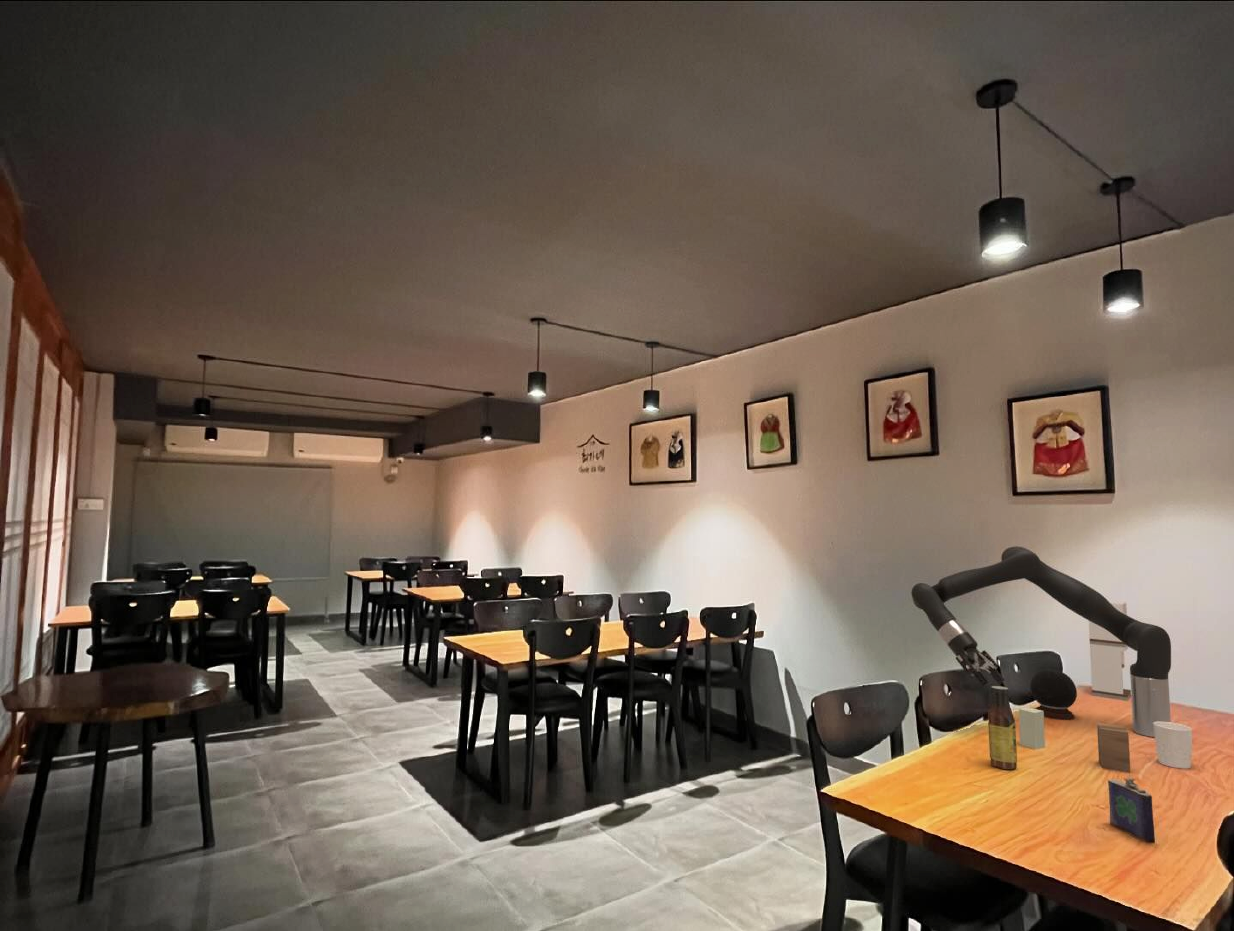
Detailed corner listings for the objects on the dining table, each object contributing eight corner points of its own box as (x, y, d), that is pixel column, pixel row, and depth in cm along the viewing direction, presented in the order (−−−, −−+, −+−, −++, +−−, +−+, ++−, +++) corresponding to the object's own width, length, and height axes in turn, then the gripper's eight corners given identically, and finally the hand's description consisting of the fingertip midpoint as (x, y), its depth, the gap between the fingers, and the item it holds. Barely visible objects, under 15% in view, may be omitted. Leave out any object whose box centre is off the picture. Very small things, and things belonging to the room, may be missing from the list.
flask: (1106, 823, 140) (1104, 770, 141) (1119, 822, 140) (1116, 769, 141) (1147, 843, 130) (1144, 787, 131) (1160, 843, 131) (1157, 786, 132)
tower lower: (1098, 761, 178) (1098, 742, 178) (1126, 766, 175) (1125, 746, 175) (1101, 768, 173) (1100, 748, 173) (1130, 773, 170) (1129, 752, 170)
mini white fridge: (1127, 700, 244) (1122, 604, 248) (1092, 695, 252) (1087, 601, 255) (1130, 695, 253) (1126, 602, 256) (1096, 690, 260) (1092, 599, 263)
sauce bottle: (1021, 771, 169) (1018, 691, 171) (994, 769, 170) (992, 689, 172) (1011, 763, 175) (1009, 685, 177) (985, 760, 176) (983, 684, 178)
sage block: (1019, 744, 190) (1018, 709, 191) (1028, 742, 193) (1027, 707, 194) (1036, 749, 187) (1034, 713, 188) (1045, 747, 189) (1043, 711, 190)
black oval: (1071, 723, 214) (1069, 675, 215) (1025, 714, 223) (1024, 668, 225) (1082, 716, 222) (1080, 670, 224) (1037, 707, 232) (1036, 663, 233)
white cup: (1201, 771, 172) (1198, 731, 173) (1166, 768, 173) (1164, 728, 174) (1182, 760, 180) (1179, 722, 180) (1148, 758, 181) (1146, 720, 182)
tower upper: (1097, 742, 178) (1097, 723, 179) (1125, 746, 175) (1124, 726, 176) (1100, 748, 173) (1099, 728, 174) (1129, 752, 170) (1128, 732, 171)
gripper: (952, 632, 204) (990, 678, 194) (978, 629, 212) (1015, 674, 201) (936, 646, 208) (972, 692, 198) (962, 643, 216) (998, 688, 205)
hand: (994, 683), depth 199 cm, fingers open, 8 cm apart
